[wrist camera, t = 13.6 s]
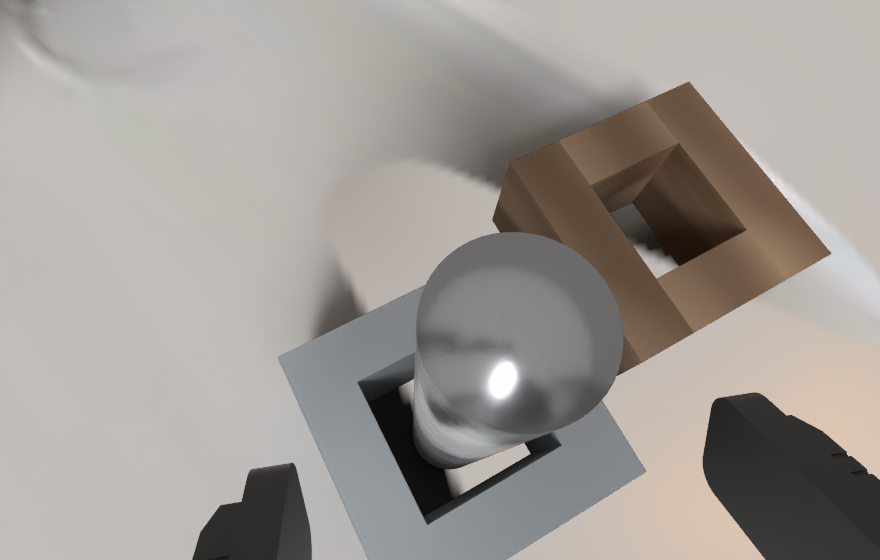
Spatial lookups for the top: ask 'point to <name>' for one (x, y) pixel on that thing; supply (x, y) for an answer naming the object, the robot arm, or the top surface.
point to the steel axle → (509, 346)
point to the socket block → (381, 481)
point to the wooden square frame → (662, 216)
